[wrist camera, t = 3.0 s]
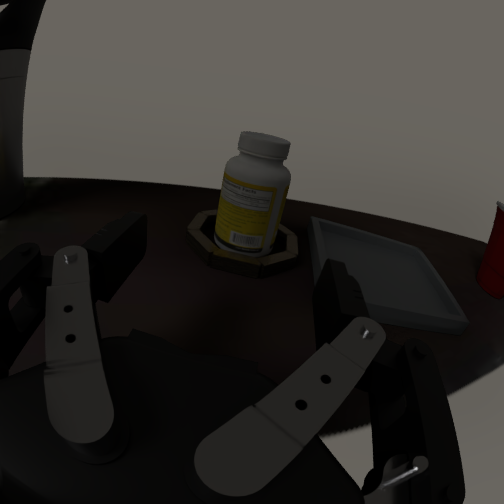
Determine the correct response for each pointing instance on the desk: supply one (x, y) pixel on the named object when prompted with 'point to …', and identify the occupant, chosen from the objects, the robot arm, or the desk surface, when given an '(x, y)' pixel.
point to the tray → (388, 277)
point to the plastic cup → (494, 258)
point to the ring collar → (236, 260)
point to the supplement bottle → (253, 195)
